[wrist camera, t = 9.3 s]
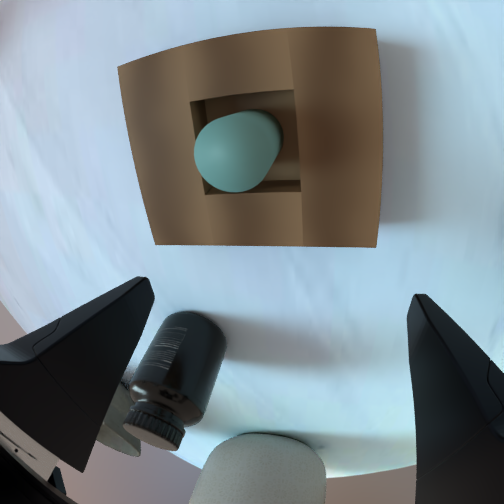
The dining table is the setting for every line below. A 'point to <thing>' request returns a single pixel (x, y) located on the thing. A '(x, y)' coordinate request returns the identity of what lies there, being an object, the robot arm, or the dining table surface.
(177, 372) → the supplement bottle
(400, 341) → the dining table surface
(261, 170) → the pin
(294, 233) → the bore block
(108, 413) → the bowl
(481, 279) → the dining table surface
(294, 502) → the planter
